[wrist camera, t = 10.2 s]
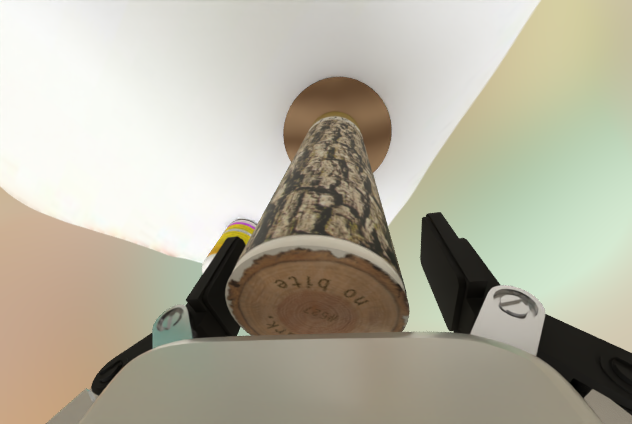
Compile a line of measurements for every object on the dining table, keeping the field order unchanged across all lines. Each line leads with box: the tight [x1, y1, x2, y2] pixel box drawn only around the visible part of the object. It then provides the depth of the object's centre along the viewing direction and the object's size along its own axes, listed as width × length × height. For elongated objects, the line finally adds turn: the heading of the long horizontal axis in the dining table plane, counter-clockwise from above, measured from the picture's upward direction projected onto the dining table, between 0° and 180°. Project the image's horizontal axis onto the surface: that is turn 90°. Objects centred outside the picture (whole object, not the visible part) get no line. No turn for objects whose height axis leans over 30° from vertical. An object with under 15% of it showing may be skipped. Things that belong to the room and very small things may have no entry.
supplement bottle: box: [202, 220, 257, 273], centre depth 36 cm, size 7×7×13 cm
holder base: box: [283, 77, 391, 172], centre depth 23 cm, size 14×14×17 cm
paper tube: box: [225, 111, 409, 336], centre depth 19 cm, size 7×7×25 cm
